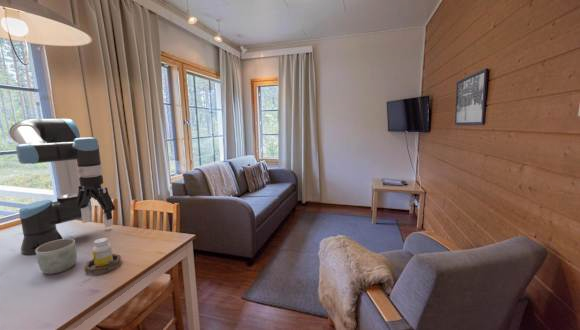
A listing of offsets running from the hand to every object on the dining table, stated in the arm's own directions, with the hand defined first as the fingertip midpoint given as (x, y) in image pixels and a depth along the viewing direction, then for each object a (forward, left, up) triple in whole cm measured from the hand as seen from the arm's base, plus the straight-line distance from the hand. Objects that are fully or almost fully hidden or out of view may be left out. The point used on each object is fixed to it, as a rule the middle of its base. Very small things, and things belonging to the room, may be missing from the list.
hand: (97, 224), depth 104 cm
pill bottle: (0, 0, -19) cm, 19 cm away
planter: (-17, -7, -20) cm, 27 cm away
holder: (0, 0, -20) cm, 20 cm away
